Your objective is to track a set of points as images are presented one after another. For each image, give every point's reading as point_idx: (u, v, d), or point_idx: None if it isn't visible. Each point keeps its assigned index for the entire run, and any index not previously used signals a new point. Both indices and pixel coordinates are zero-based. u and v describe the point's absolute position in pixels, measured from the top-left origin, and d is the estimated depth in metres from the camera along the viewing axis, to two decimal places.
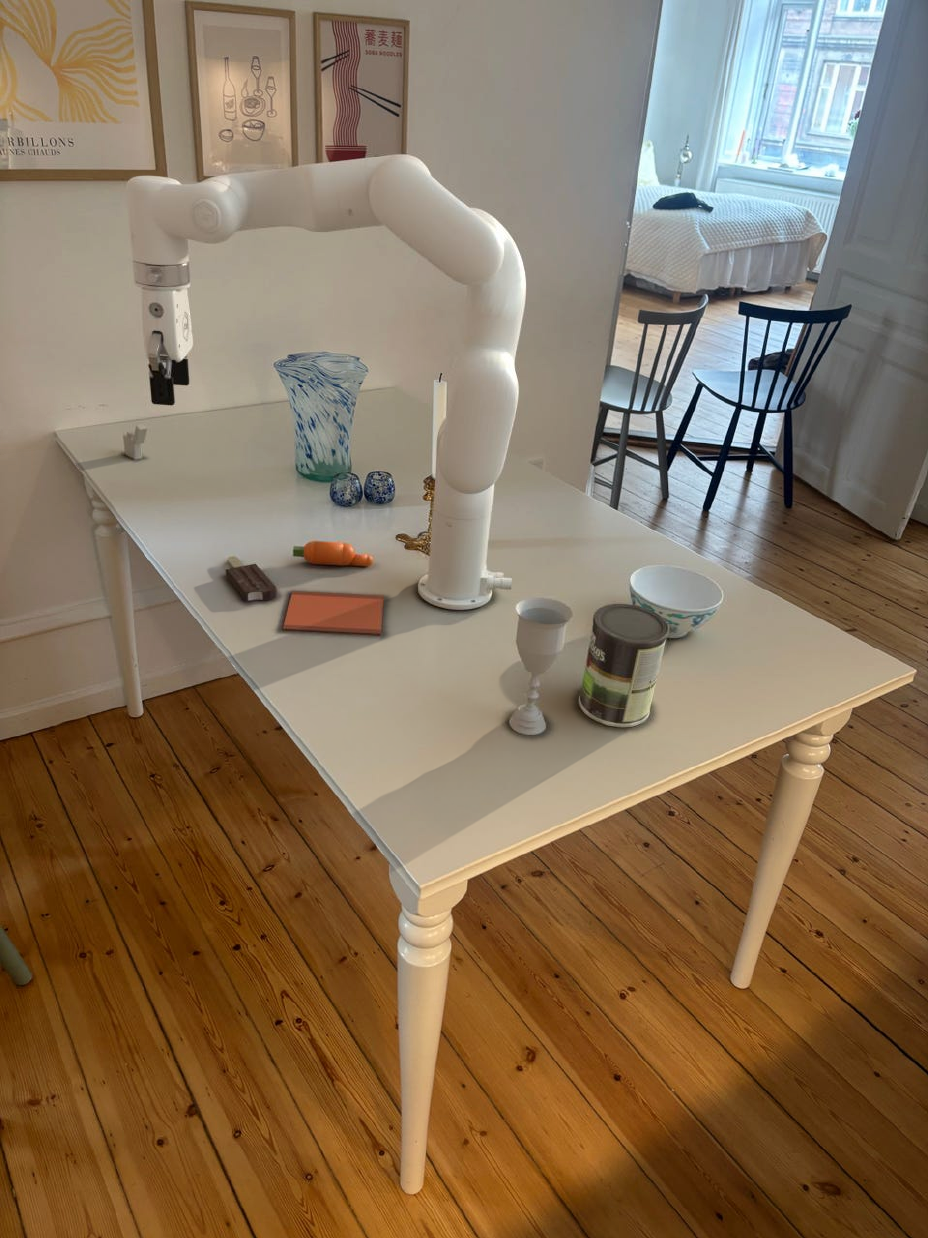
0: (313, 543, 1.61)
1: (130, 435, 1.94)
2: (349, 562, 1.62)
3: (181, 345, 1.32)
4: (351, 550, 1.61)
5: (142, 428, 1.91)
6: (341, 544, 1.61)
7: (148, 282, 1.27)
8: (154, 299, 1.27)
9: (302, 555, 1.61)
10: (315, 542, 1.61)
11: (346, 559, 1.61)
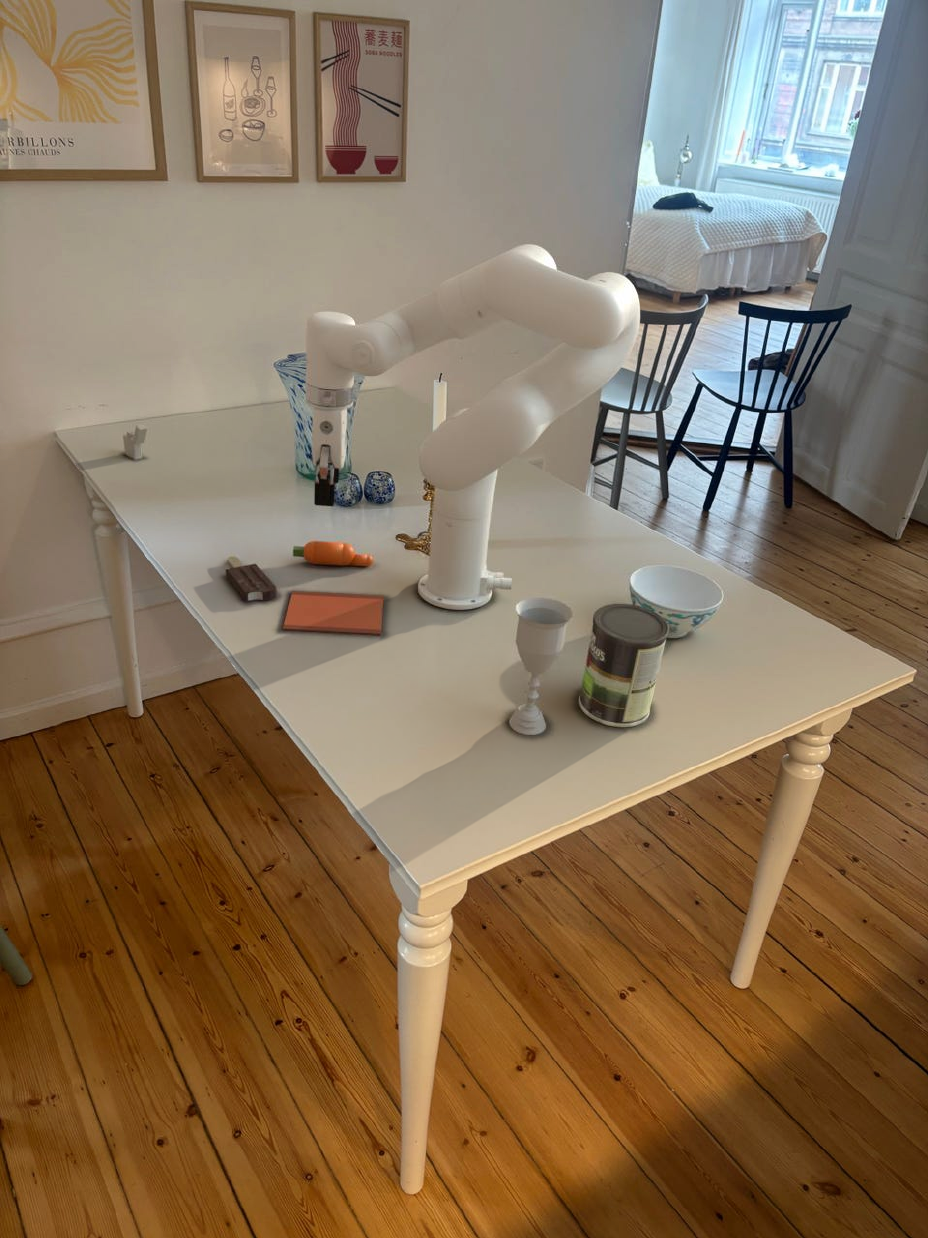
0: (313, 543, 1.61)
1: (130, 435, 1.94)
2: (349, 562, 1.62)
3: (343, 455, 1.50)
4: (351, 550, 1.61)
5: (142, 428, 1.91)
6: (341, 544, 1.61)
7: (321, 403, 1.45)
8: (326, 418, 1.45)
9: (302, 555, 1.61)
10: (315, 542, 1.61)
11: (346, 559, 1.61)
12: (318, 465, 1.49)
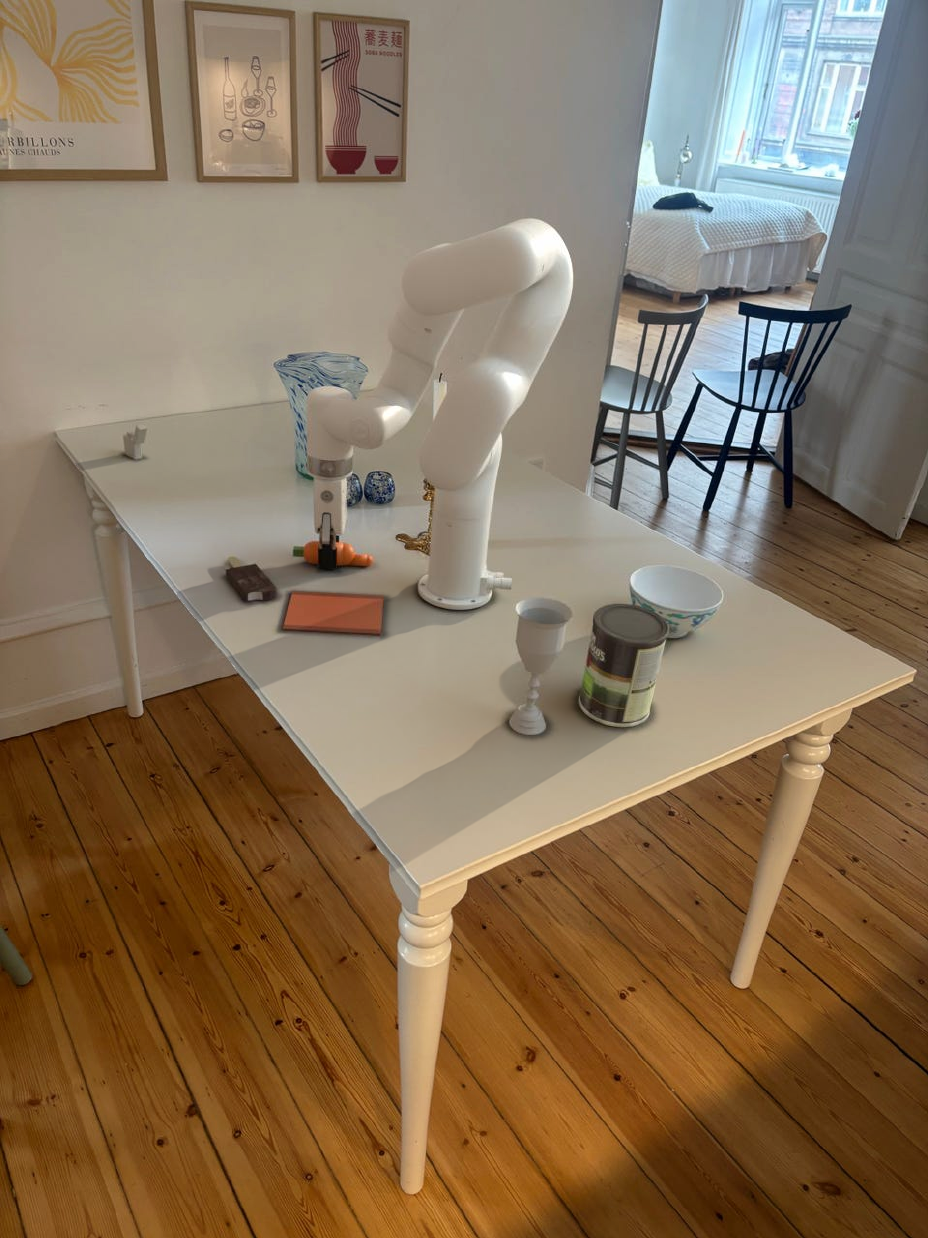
0: (313, 543, 1.61)
1: (130, 435, 1.94)
2: (349, 562, 1.62)
3: (343, 521, 1.56)
4: (351, 550, 1.61)
5: (142, 428, 1.91)
6: (341, 544, 1.61)
7: (321, 474, 1.51)
8: (326, 488, 1.51)
9: (302, 555, 1.61)
10: (315, 542, 1.61)
11: (346, 559, 1.61)
12: (320, 533, 1.57)
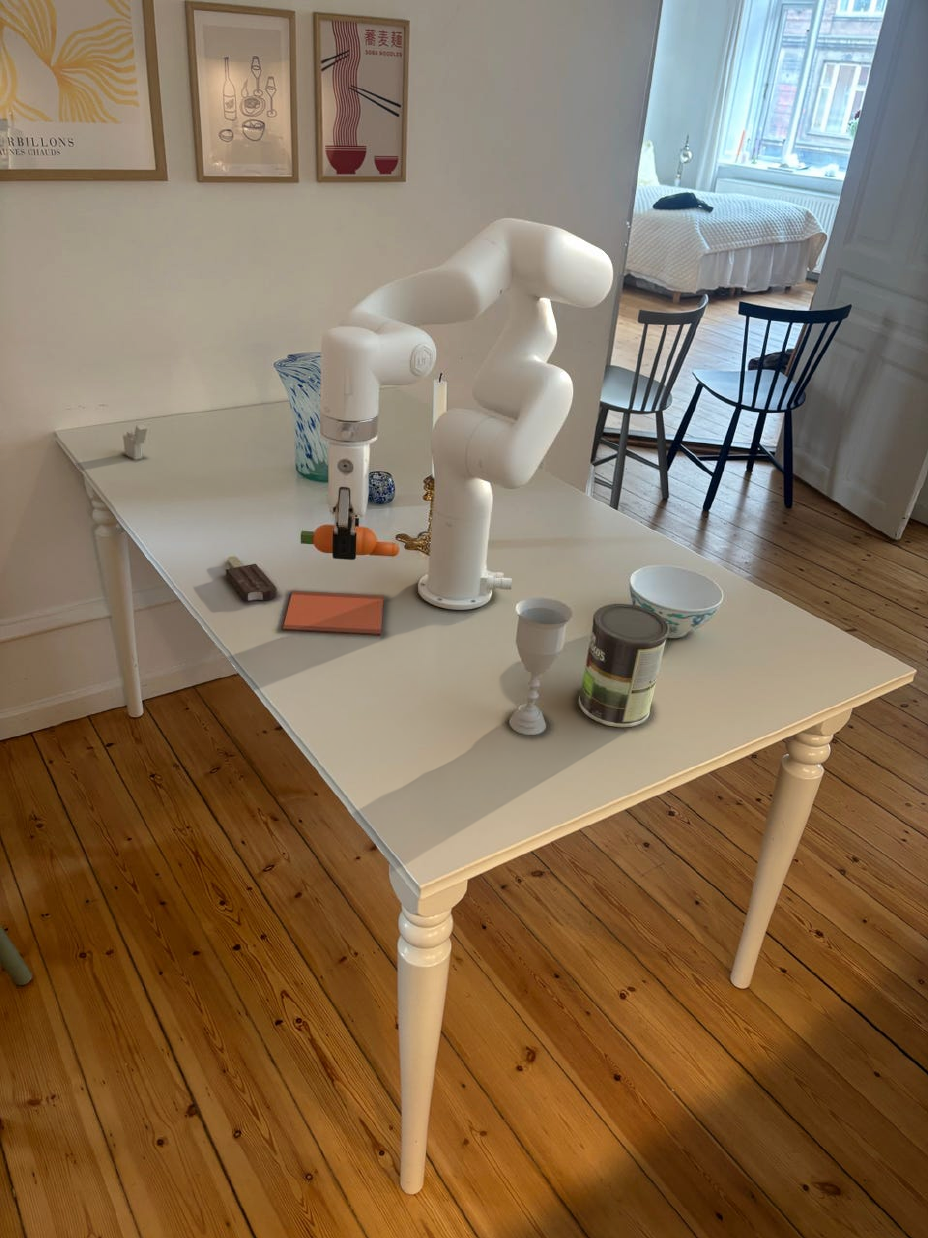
0: (326, 527, 1.29)
1: (130, 435, 1.94)
2: (370, 551, 1.30)
3: (365, 499, 1.24)
4: (373, 536, 1.29)
5: (142, 428, 1.91)
6: (360, 529, 1.29)
7: (339, 438, 1.19)
8: (345, 456, 1.19)
9: (312, 542, 1.30)
10: (328, 526, 1.29)
11: (366, 547, 1.29)
12: (336, 514, 1.25)
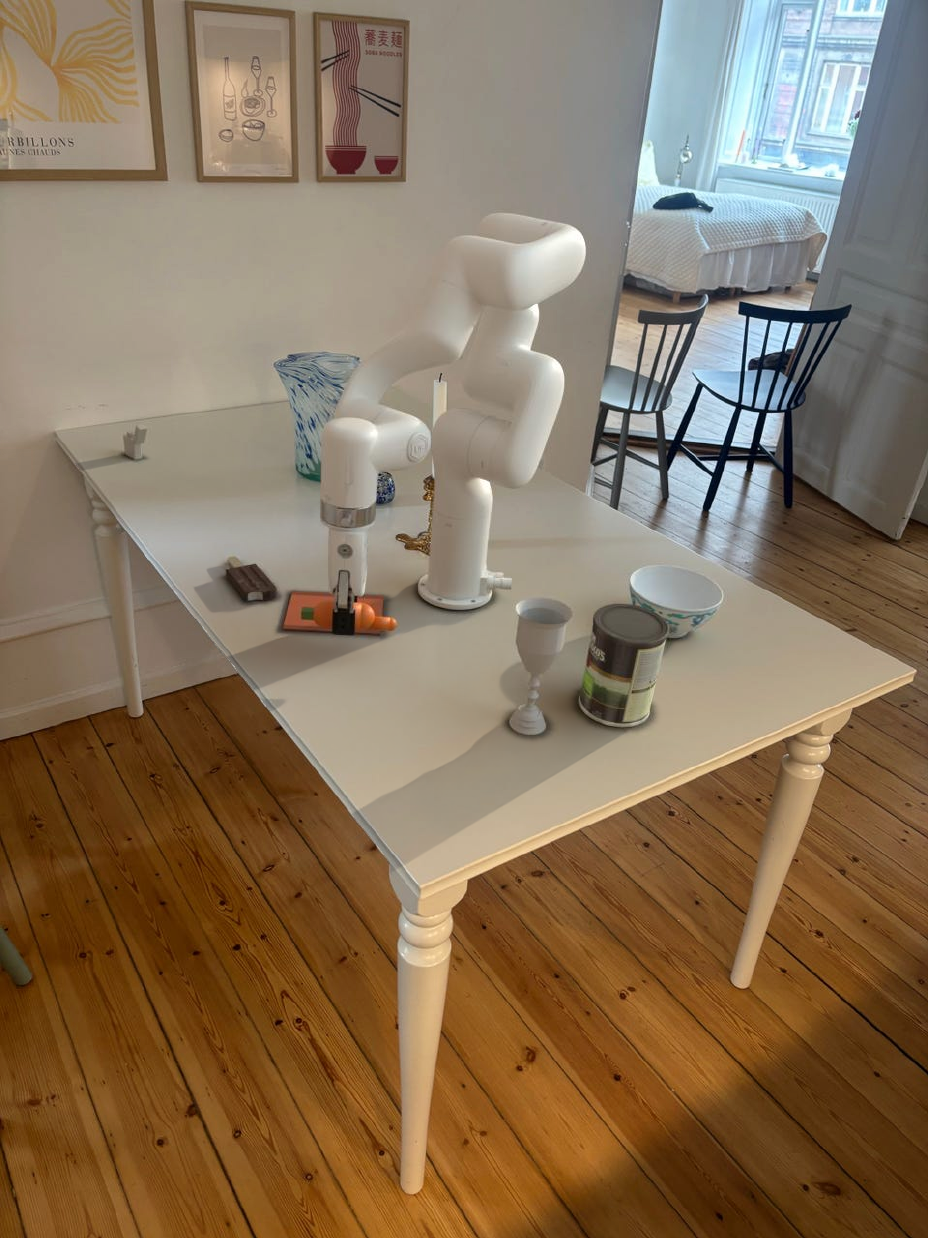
0: (325, 604, 1.33)
1: (130, 435, 1.94)
2: (368, 627, 1.35)
3: (364, 580, 1.28)
4: (371, 612, 1.34)
5: (142, 428, 1.91)
6: (359, 605, 1.34)
7: (338, 524, 1.24)
8: (344, 541, 1.24)
9: (312, 618, 1.34)
10: (328, 603, 1.34)
11: (365, 623, 1.34)
12: (336, 594, 1.29)
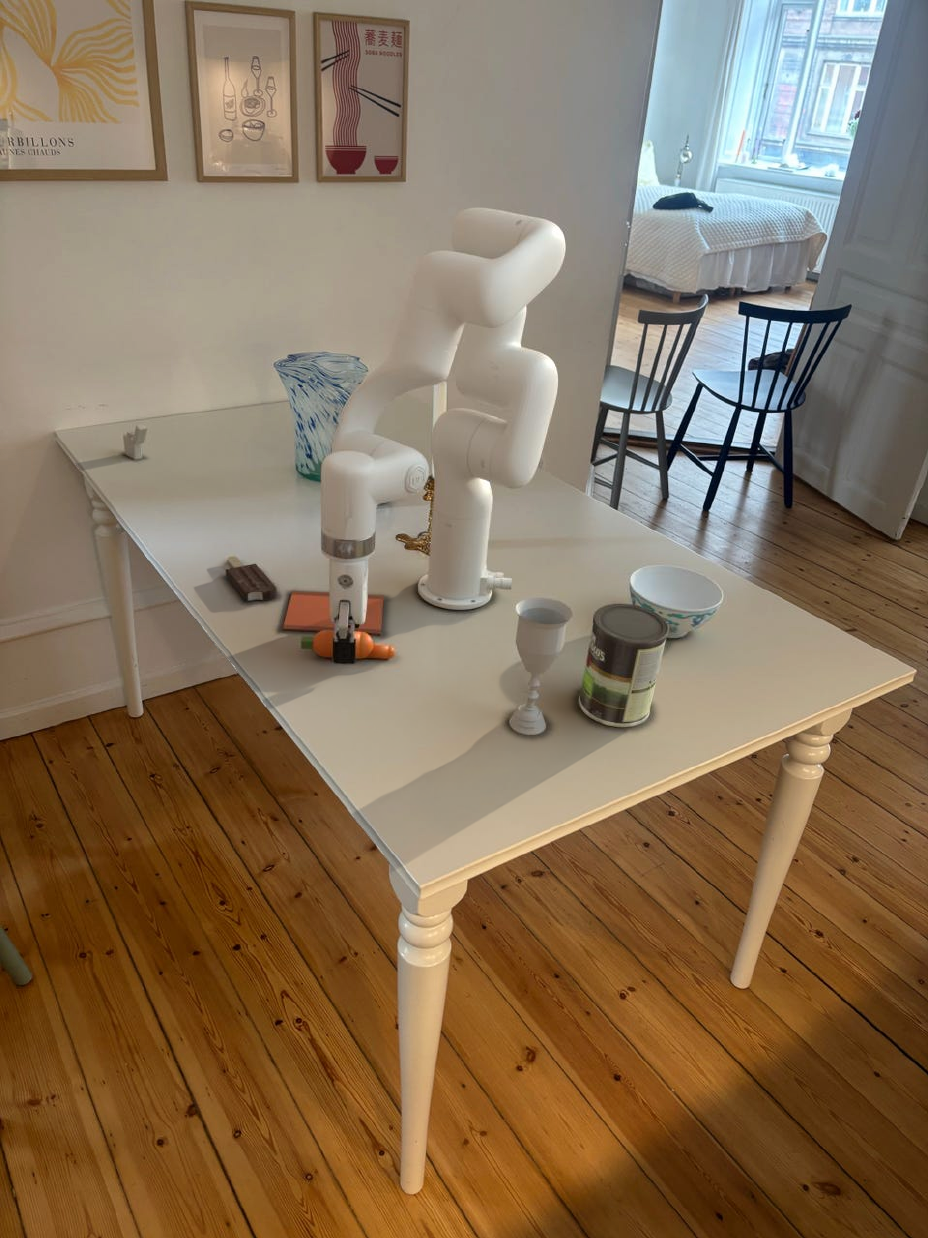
0: (325, 634, 1.36)
1: (130, 435, 1.94)
2: (367, 655, 1.37)
3: (365, 608, 1.31)
4: (369, 641, 1.37)
5: (142, 428, 1.91)
6: (358, 634, 1.36)
7: (339, 555, 1.26)
8: (345, 572, 1.26)
9: (312, 647, 1.37)
10: (327, 632, 1.36)
11: (363, 652, 1.36)
12: (336, 621, 1.30)
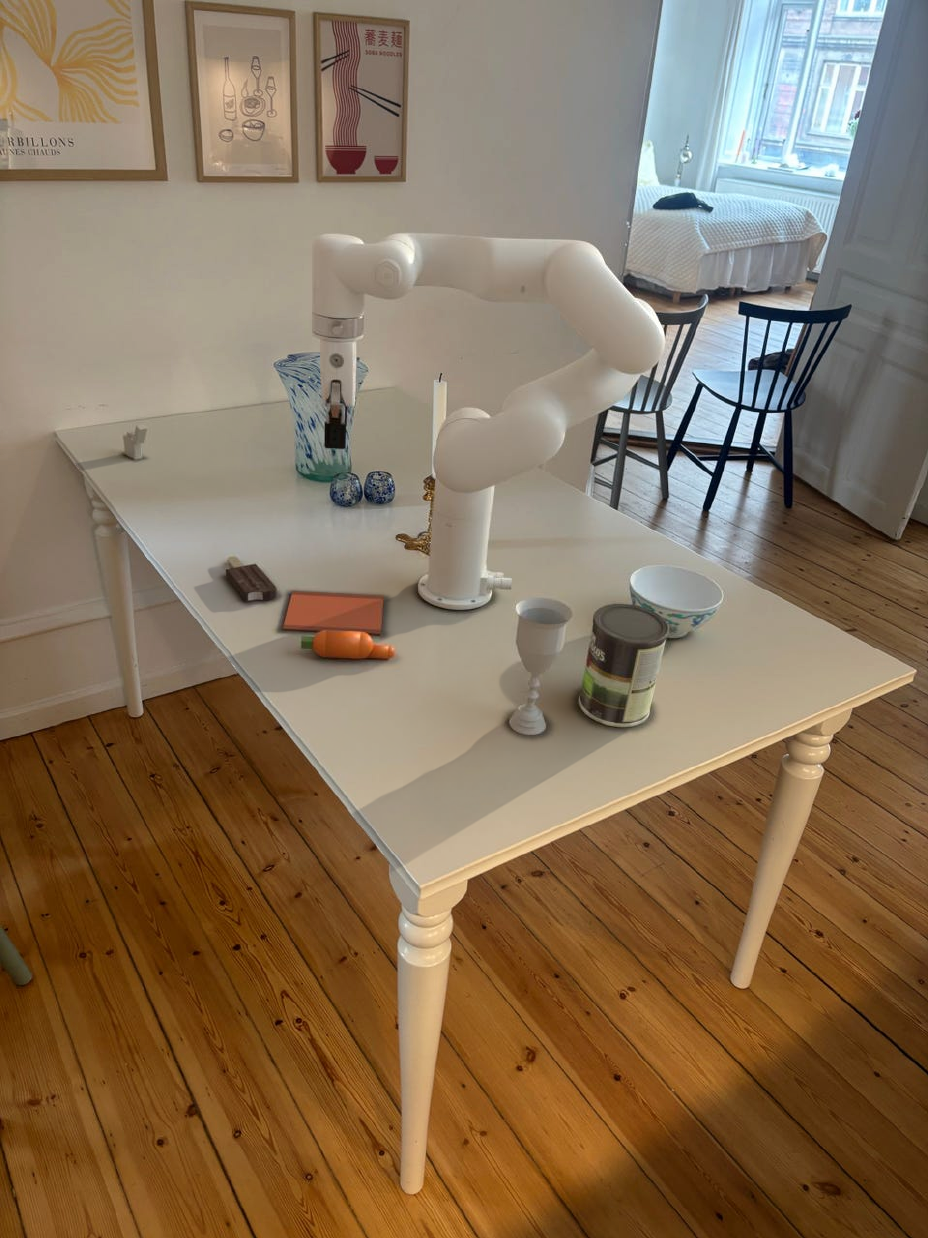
0: (325, 634, 1.36)
1: (130, 435, 1.94)
2: (367, 655, 1.37)
3: (354, 392, 1.39)
4: (369, 641, 1.37)
5: (142, 428, 1.91)
6: (358, 635, 1.36)
7: (330, 334, 1.33)
8: (336, 351, 1.34)
9: (312, 647, 1.37)
10: (327, 632, 1.36)
11: (363, 653, 1.36)
12: (328, 403, 1.38)
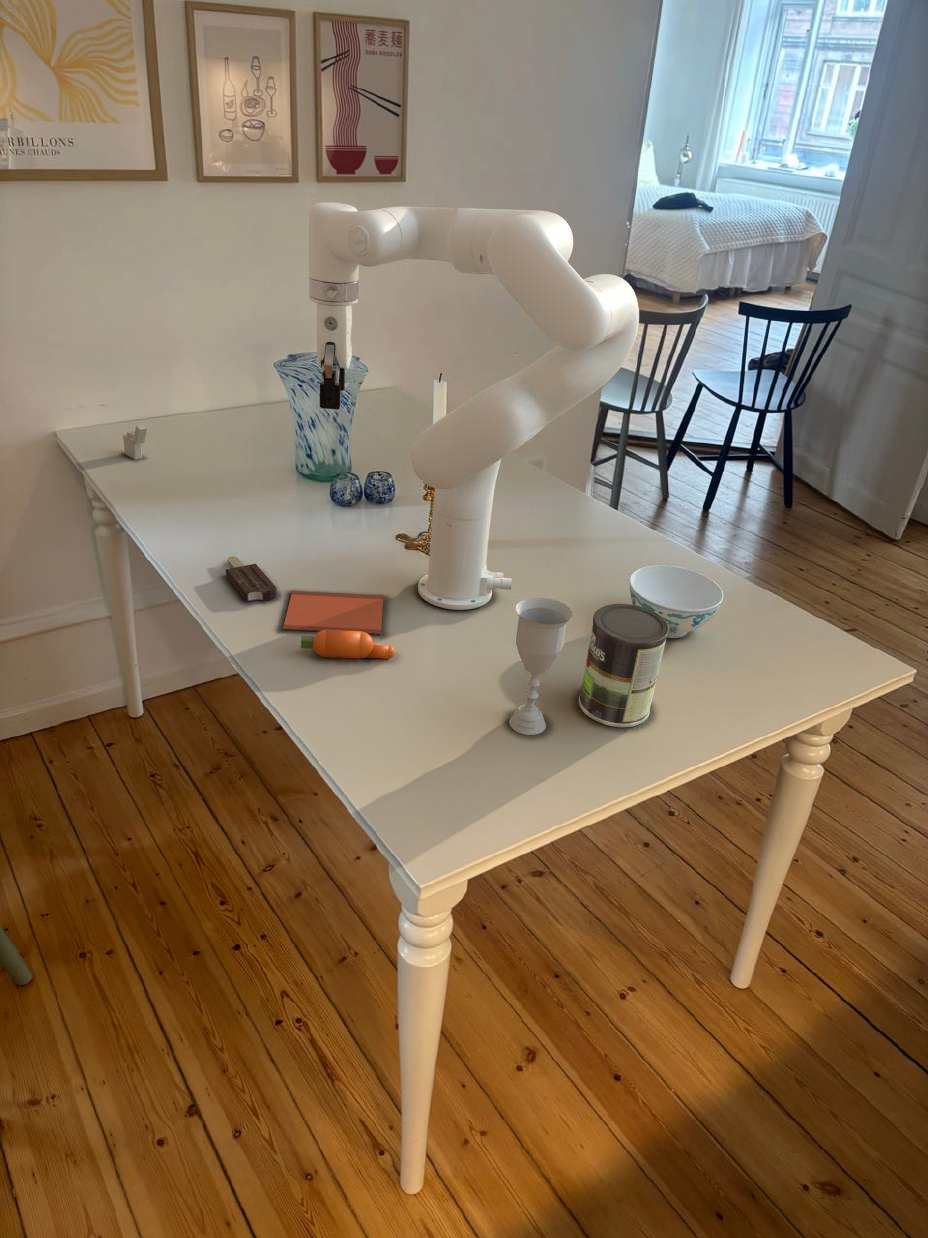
0: (325, 633, 1.36)
1: (130, 435, 1.94)
2: (367, 655, 1.37)
3: (348, 355, 1.45)
4: (370, 641, 1.37)
5: (142, 428, 1.91)
6: (358, 634, 1.36)
7: (325, 298, 1.40)
8: (330, 314, 1.41)
9: (312, 647, 1.37)
10: (327, 632, 1.36)
11: (363, 652, 1.36)
12: (323, 365, 1.45)
